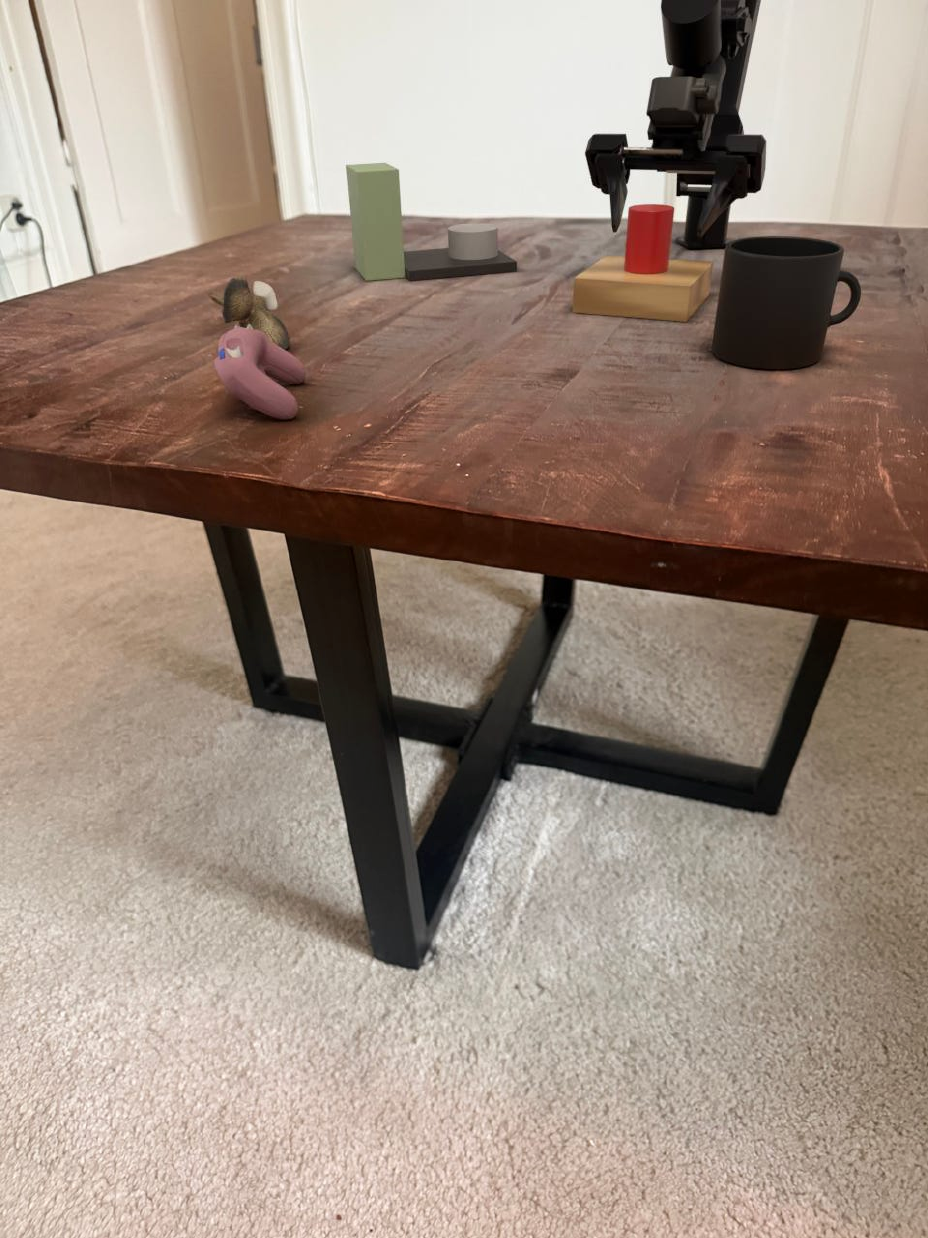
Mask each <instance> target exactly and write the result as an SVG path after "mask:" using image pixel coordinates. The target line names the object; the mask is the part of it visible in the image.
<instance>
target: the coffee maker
mask: <svg viewBox="0 0 928 1238" xmlns="http://www.w3.org/2000/svg"><path fill="white" fill-rule="evenodd" d="M345 171H346V184H347V191H348V202H349V203H348V204H349V214H350V215H349V216H350V225H351V226H350V227H351V237H352V247H353V256H354V257H353V258H354V267H355V269H356V271H357V272H358V273H359V274H360V276H361V277H363V280H365V281H366V282H372V281H383V280H384V281H385V280H395V279H406V280H408V282H412V281H424V280H425V281H426V280H435V279H446V278H448V279H449V278H456V277H468V276H480V275H491V274H503V273H511V272H512V273H514V272H518V261H517V260H516V259H513V258H512V257H510V256H509V255H507V254H505V253H504V252H502V251H500V250H499V227H498V226H497V225H495V224H491V223H483V222H482V223H481V222H472V223H471V222H470V223H459V224H454V225H453V224H452V225H451V226H448V228H447V240H448V241H447V243H448V245H447V247H446V248H445V247H444V248H431V249H420V250H418V249H417V250H406V251H405V248H404V246H405V245H404V231H403V215H402V200H401V199H402V198H401V197H402V196H401V181H400V169H399V168H397V167H395V166H393V165H390V164H389V163H387V162H373V163H358V164H357V163H356V164H345Z"/></svg>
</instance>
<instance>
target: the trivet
mask: <svg viewBox="0 0 928 1238" xmlns="http://www.w3.org/2000/svg"><path fill="white" fill-rule="evenodd" d="M624 262H625V255H624V256H623V255H608V254H607V255H605V256H604V257H602V258H601V259H599V260H598V261H597V262H595V263H594V264H592V265H591V266H589V267H588V268H586V269H585V270H584V271H582V272H581V273H579V274H578V275H577V276H575V277H574V281H573V300H572V301H573V303H572V313H573V314H583V315H584V314H585V315H597V316H609V317H620V318H631V319H646V320H656V321H657V320H658V321H667V322H668V321H670V322H679V323H680V322H681V323H683V322H684V323H688V321H689V320H690V319H691V317H692V316H693V315H694V314H695V312H696V311H697V310H698V309H699V308H700V306H701V305H702V304H703V303H704V301H705V300H706V299H707V298H708V297H709V295H710V290H711V282H712V273H713V267H714V261H712V260H711V261H709V260H693V259H692V260H691V259H677V258H676V259H674V258H673V259H672V258H669V265H668V270H667V271H666V272H663V273H658V274H636V273H630V272H627V271H625V270H624Z"/></svg>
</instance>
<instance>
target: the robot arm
mask: <svg viewBox="0 0 928 1238" xmlns="http://www.w3.org/2000/svg"><path fill="white" fill-rule="evenodd" d="M761 2H762V0H661V1H660V13H661V22H662V30H663V31H662V32H663V40H664V52H665V59H666V63H667V65H668V66H672V69H671V73H670V76H659V77H654V78H652V80H651V82H650V83H651V85H650V90H649V96H648V101H647V107H646V113H645V114H646V116H647V117H648V119H649V124H648V127H647V131H646V134H647V140H648V141H652V142H651V146H649V147H648V146H629V142H628V138H627V136H628V135H627V134H626V133H594V134H592V135H591V136H590V138H589V139H588V141H587V143H586V147H585V151H584V157H585V160H586V164H587V169H588V172H589V173H588V174H589V176H590V181H591V185H592V186H593V187H595V188H596V189H597V190H598V189H599V190H600V192H601V193H602V194H604V195H608V197H609V209H610V211H609V212H610V224H611V231H612V233H613V234H615V233H616V234H617V232H618V231H619V228H620V225H621V222H622V219H623V214H624V210H625V207H626V203H627V202H626V201H627V198H628V184H629V181H630V176H631V171H656V172H657V173H667V174H676V182H675V183H676V187H675V188H676V189H675V197H678V198H679V197H687V207H686V215H685V222H684V223H685V224H684V232H683V233H684V234H683V236H675V240H674V241H675V242H677V243H679V244H680V245H682V246H684V247H685V248H687V249H690V250H691V249H693V250H694V249H709V248H710V249H711V248H725V247H726V245H727V243H729V242H731V241H732V240H730V239H728V238H727V234H728V227H729V220H730V213H731V207H732V206H731V205H732V204H733V203H734V202H735V201H736V200H742V199H746V198H747V197H748V196H749V195H748V194H756V193H758V192H760V191H761V190H762V187H763V182H764V178H765V172H766V166H767V165H766V163H767V161H766V160H767V140H766V138H765V137H764V135H763V134H745V130H744V124H743V122H742V119H741V116H740V113H739V112H740V108H741V103H742V102H741V101H742V98H743V92H744V89H745V83H746V77H747V73H748V67H749V63H750V58H751V52H752V49H753V43H754V38H755V32H756V27H757V22H758V18H759V12H760V7H761ZM689 185H690V186H689Z"/></svg>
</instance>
